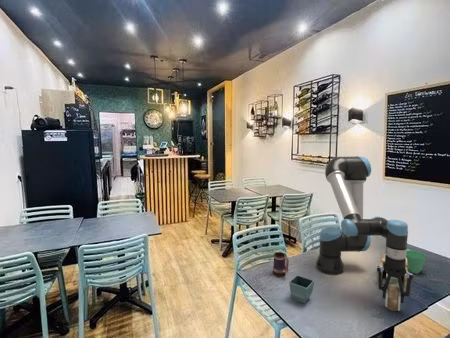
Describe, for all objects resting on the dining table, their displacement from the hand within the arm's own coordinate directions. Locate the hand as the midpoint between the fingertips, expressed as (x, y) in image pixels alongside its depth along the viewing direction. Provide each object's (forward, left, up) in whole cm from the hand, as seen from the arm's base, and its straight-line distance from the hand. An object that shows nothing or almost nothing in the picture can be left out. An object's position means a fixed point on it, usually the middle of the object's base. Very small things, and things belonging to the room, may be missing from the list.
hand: (392, 307), depth 117 cm
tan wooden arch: (0, +27, -1) cm, 27 cm away
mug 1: (-52, +2, -1) cm, 52 cm away
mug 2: (+9, +47, -1) cm, 48 cm away
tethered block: (0, +11, -1) cm, 11 cm away
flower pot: (-36, -14, -1) cm, 39 cm away
